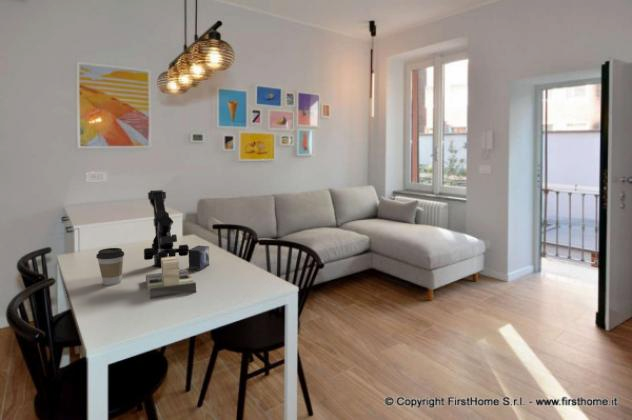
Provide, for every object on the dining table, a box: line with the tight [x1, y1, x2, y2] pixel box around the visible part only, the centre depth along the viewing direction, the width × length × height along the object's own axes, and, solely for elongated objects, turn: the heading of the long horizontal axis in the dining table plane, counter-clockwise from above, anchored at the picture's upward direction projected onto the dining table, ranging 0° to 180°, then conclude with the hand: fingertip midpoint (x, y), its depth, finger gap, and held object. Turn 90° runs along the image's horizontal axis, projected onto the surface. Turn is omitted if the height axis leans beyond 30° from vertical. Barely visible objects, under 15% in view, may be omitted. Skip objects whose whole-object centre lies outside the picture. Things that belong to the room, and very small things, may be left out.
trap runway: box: [145, 269, 197, 300], centre depth 176 cm, size 25×18×4 cm
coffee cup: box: [95, 247, 125, 286], centre depth 180 cm, size 11×11×15 cm
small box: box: [188, 245, 210, 272], centre depth 204 cm, size 11×6×10 cm, turn 168°
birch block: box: [160, 256, 180, 286], centre depth 172 cm, size 9×6×10 cm, turn 26°
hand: (168, 268), depth 176 cm, fingers closed
